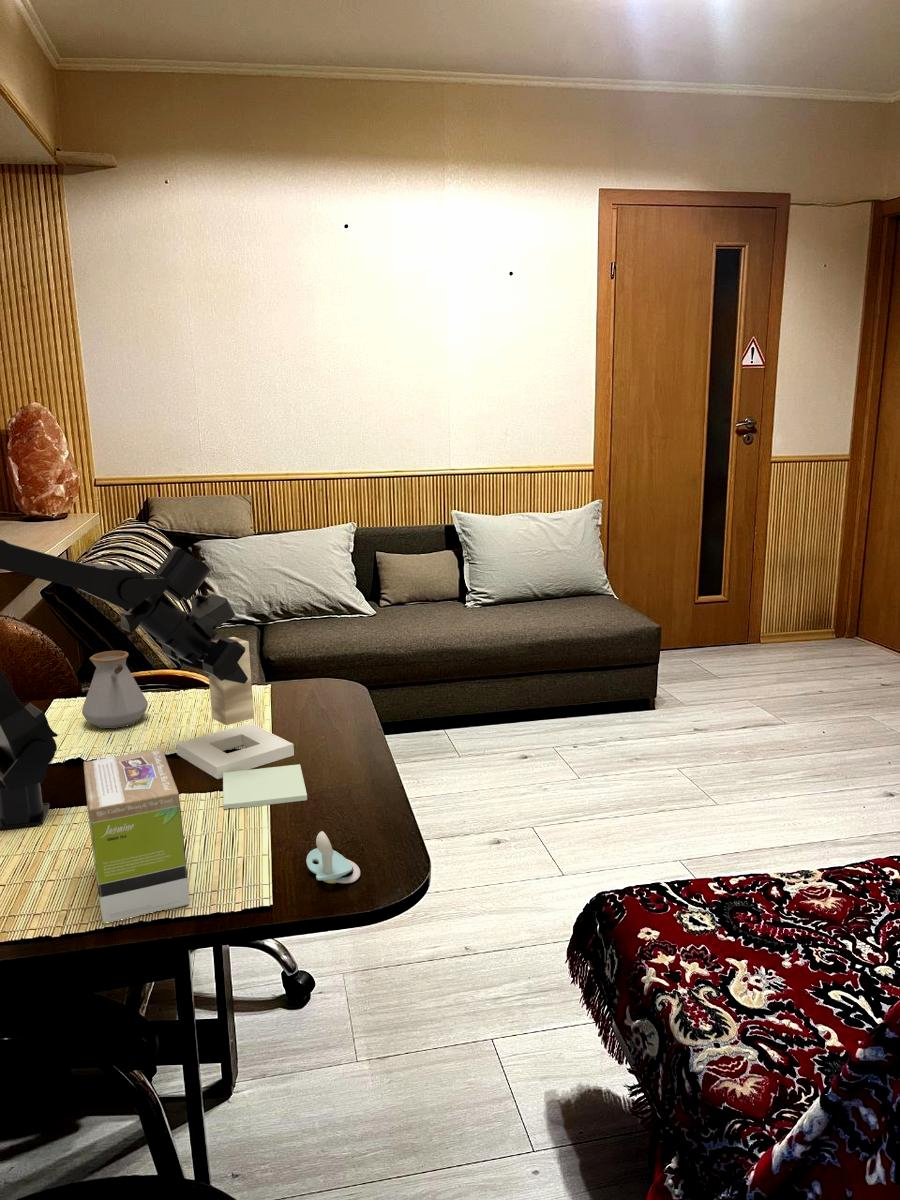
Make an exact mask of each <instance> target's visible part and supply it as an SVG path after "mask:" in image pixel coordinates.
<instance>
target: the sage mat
mask: <svg viewBox="0 0 900 1200" xmlns="http://www.w3.org/2000/svg"><path fill="white" fill-rule="evenodd" d="M222 782H223V783H222V792H223V794H222V795H223V796H222V797H223V799H222V800H223V801H222V803H223V810H224V809H226V808H236V809H241V808H240V807H244V808H252V806H253V807H259V806H260V807H261V806H267V805H268V806H269V805H277V804H286V803H293V802H302V801H308V794H307V789H306V785H305V780H304V775H303V771H302V767H301V764H300V763H299V764H291V765H282V766H273V767H272V766H271V767H263V768H262V767H261V768H252V769H249V770H243V771H234V772H224V773H223V778H222Z"/></svg>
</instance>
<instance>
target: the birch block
mask: <svg viewBox="0 0 900 1200" xmlns="http://www.w3.org/2000/svg"><path fill="white" fill-rule="evenodd" d="M229 638H230V639H232V640H235V641H238V642H239V643H240V644H241V645H242V646H244V647H245V653H244V654H243V655H242V657H241V658H240V659H239V661H238V664H239V665H240V667H241V668H242V670H243V671H244V673H245V674H246V676H247V677H248V680H247V681H246V683H245V684H243V683H238V682H233V681H229V680H223V681H221V680H218V679H216V678H214V677H211V676H209V675H208V682H209V683H208V685H209V694H210V706H211V707H210V710H211V719H212V720H215V721H217V722H218V723H221V724H223V725H225V726H229V725H234V724H237V723H241V722H244V721H250V720H252V719H255V712H254V699H253V696H254V695H253V686H252V685H253V684H252V669H251V659H250V658H251V657H250V655H251V654H250V642H249V640H244V639H242V638H239V637H235V636H231V637H229ZM218 640H219V639H215V640H211V641H212V642H215V643H217V641H218Z"/></svg>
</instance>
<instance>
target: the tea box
mask: <svg viewBox="0 0 900 1200" xmlns="http://www.w3.org/2000/svg"><path fill="white" fill-rule="evenodd" d="M83 771H84V772H83V774H84V786H85V795H86V796H85V797H86V805H87V806H86V807H87V814H88V825H89V832H90V839H91V848H92V856H93V862H94V872H95V879H96V886H97V893H98V898H99V904H100V905H99V906H100V912H101V919H102V920H101V921H102V923H103V924H105V923H106V922H112V921H117V920H121V919H126V918H129V917H133V916H136V915H143V914H147V913H151V912H156V911H161V910H165V911H168V909H169V910H172V909H176V908H177V909H178V908H181V907H184V906H187V905H189V904H190V903H191V902H190V900H191V899H190V890H189V887H190V886H189V879H188V870H187V860H186V859H187V858H186V848H185V841H184V839H185V838H184V829H183V819H182V808H181V807H182V806H181V801H180V795H179V794H180V793H179V790H178V787H177V784H176V782H175V780H174V777H173V775H172V771H171V768H170V766H169V763H168V760H167V758H166V755H165V753H164V750H163V748H157V749H152V750H146V751H141V752H134V753H129V754H125V755H124V754H123V755H117V756H112V757H107V758H101V759H96V760H94V759H93V760H89V761H86V760H85V761H83ZM161 912H162V911H161Z"/></svg>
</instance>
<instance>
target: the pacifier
mask: <svg viewBox="0 0 900 1200" xmlns="http://www.w3.org/2000/svg"><path fill="white" fill-rule="evenodd" d="M315 845H316V848H314V849H312V850H310V851H309V853H308V854H307V856H306V860H305V861H306V865H307V866H306V867H307V868H308V870H309V871H310V872H311V873H313V874H315V878H316V880H317V881H323V882H324V883H327V884H336V883H338V884H352V883H354V882H356V881H357V880H358V879H359V878H360V876H361V869H360V867H359V866H358V864H356V862H354V861H352V860H350V859H348V858H346V857H344V856H343V855H342V854H340V853H339V852H338V851H336V850H334V849H333V846H332V844H331V841H330V839H329V838H328V836H327V834H326V833H325V832H324V830H321V831H319V832H318V834H317V835H316V839H315ZM314 862H317V864H315V863H314ZM351 872H352V874H351V875H349V876H346V875H347V874H349V873H351Z"/></svg>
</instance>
